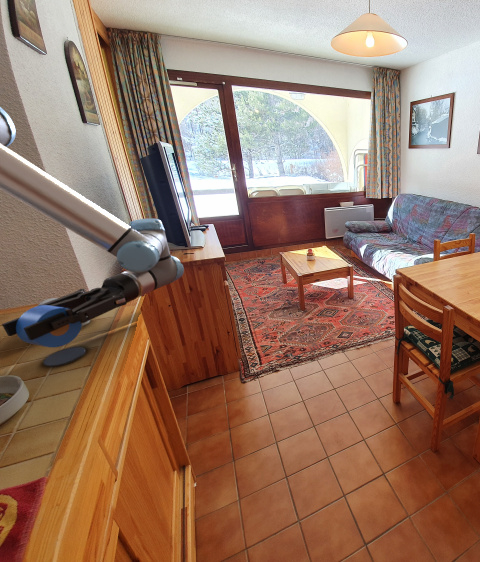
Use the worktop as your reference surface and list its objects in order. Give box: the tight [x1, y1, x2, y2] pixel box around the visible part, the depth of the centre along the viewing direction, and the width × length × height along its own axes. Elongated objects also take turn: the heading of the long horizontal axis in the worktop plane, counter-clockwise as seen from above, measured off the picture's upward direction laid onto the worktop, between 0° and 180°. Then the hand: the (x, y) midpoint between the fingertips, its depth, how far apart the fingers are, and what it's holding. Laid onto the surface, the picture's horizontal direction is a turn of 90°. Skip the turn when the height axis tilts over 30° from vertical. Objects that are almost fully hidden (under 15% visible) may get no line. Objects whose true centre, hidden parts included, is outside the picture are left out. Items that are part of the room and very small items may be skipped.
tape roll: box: [16, 305, 83, 348], centre depth 66 cm, size 5×8×8 cm, turn 167°
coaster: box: [43, 346, 86, 368], centre depth 69 cm, size 7×7×1 cm
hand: (17, 332), depth 61 cm, fingers closed on tape roll, 5 cm apart
